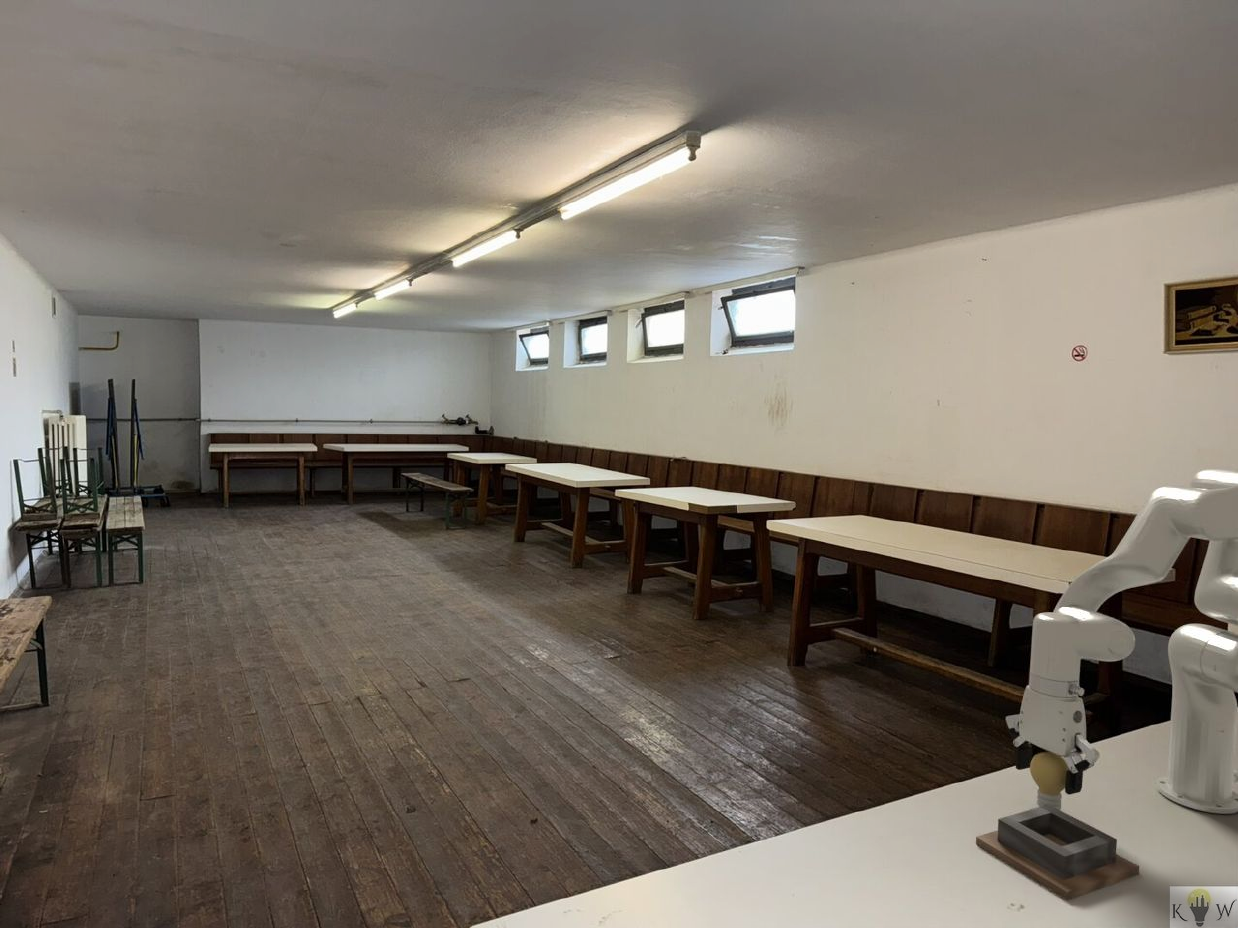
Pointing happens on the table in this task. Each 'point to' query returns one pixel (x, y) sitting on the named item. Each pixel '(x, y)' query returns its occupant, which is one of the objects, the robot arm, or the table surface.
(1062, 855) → the lamp socket
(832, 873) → the table surface
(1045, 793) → the light bulb
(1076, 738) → the robot arm
